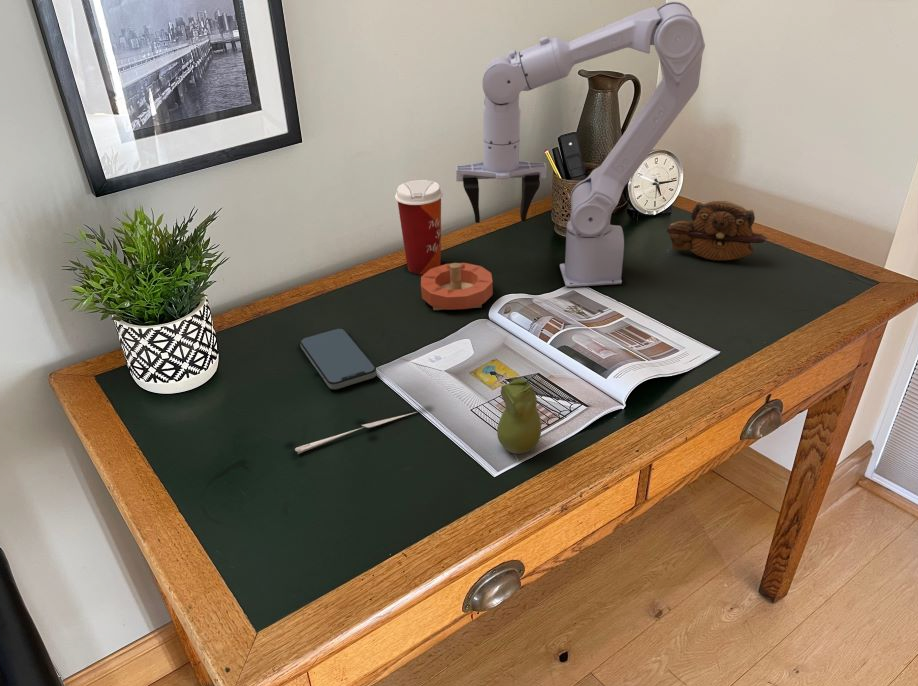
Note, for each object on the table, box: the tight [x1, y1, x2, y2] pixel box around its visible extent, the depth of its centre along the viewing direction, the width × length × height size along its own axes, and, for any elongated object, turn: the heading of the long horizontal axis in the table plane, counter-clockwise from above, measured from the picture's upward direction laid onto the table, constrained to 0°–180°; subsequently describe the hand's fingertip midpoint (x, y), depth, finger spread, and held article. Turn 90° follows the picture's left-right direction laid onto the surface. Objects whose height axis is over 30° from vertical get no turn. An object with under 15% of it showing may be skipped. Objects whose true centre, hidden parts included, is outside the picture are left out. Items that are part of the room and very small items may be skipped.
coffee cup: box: [394, 179, 444, 275], centre depth 138 cm, size 8×8×15 cm
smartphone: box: [299, 328, 378, 390], centre depth 118 cm, size 8×2×15 cm
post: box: [432, 262, 483, 311], centre depth 131 cm, size 8×8×6 cm
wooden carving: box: [666, 200, 768, 262], centre depth 136 cm, size 16×5×10 cm, turn 68°
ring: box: [420, 262, 494, 311], centre depth 131 cm, size 12×12×2 cm
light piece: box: [294, 411, 417, 455], centre depth 104 cm, size 4×1×19 cm
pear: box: [496, 378, 542, 455], centre depth 97 cm, size 6×5×10 cm
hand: (500, 219), depth 132 cm, fingers open, 7 cm apart
